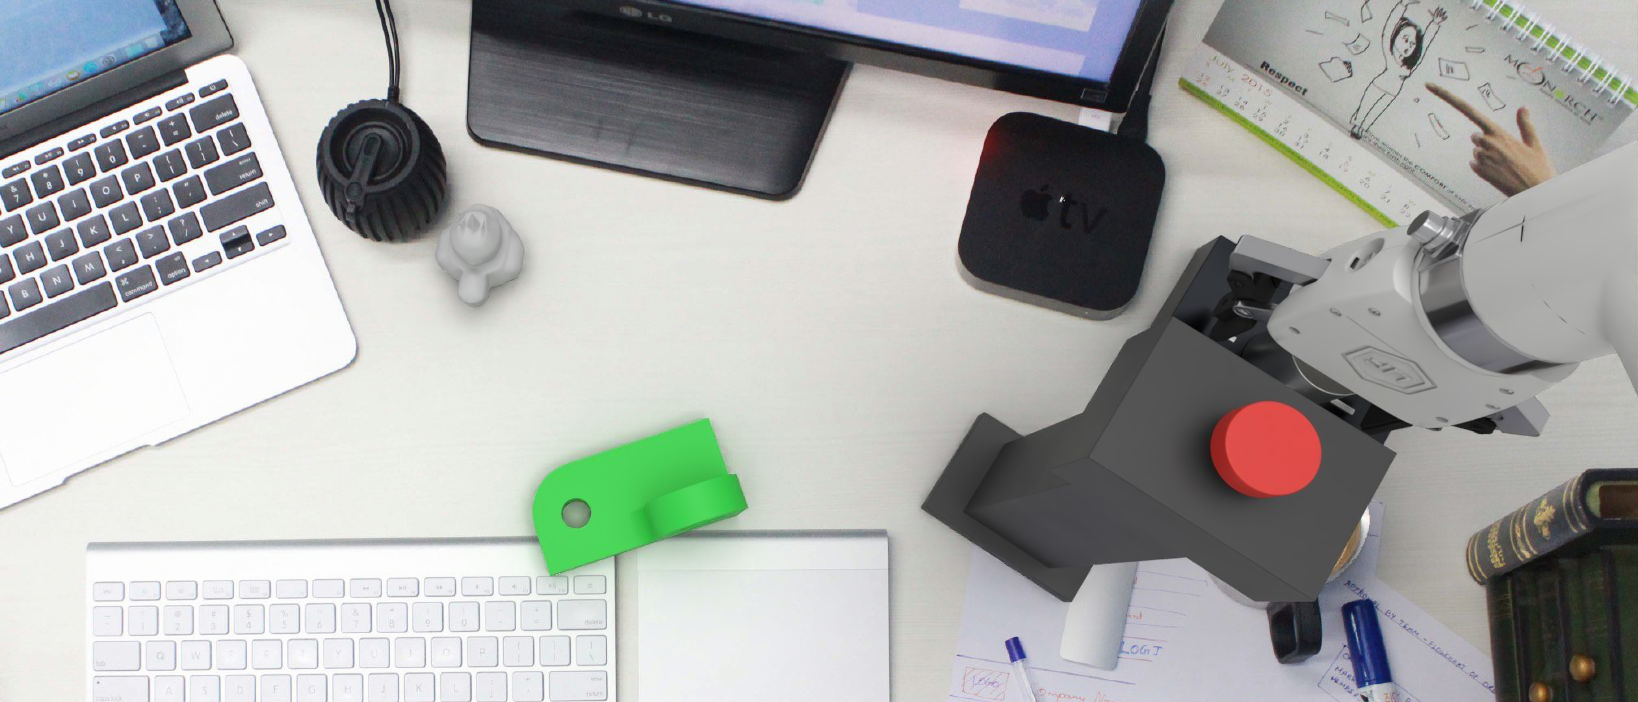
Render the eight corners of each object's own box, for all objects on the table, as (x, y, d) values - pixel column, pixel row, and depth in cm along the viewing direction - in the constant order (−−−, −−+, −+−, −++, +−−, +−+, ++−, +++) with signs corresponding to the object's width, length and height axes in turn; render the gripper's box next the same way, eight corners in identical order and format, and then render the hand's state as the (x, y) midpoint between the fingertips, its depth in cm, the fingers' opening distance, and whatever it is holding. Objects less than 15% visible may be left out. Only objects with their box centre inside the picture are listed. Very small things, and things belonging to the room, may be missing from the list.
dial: (1300, 427, 70) (1361, 412, 65) (1224, 380, 71) (1278, 361, 65) (1340, 359, 71) (1403, 338, 66) (1264, 313, 72) (1321, 288, 66)
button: (1320, 439, 46) (1339, 435, 45) (1276, 516, 46) (1294, 514, 45) (1237, 388, 47) (1253, 382, 46) (1193, 463, 46) (1208, 460, 45)
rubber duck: (533, 224, 77) (524, 181, 69) (517, 322, 76) (506, 290, 68) (450, 213, 77) (432, 169, 70) (433, 311, 76) (413, 277, 68)
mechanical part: (706, 422, 74) (717, 400, 66) (738, 514, 73) (753, 503, 65) (522, 482, 74) (511, 467, 66) (551, 576, 72) (544, 572, 65)
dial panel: (1398, 369, 74) (1433, 359, 71) (1316, 516, 72) (1347, 512, 69) (1197, 248, 76) (1222, 233, 73) (1112, 389, 74) (1134, 379, 71)
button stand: (1121, 505, 73) (1397, 453, 47) (1064, 602, 72) (1315, 602, 46) (978, 414, 74) (1173, 315, 49) (920, 508, 73) (1087, 457, 47)
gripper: (1301, 250, 53) (1135, 335, 70) (1667, 468, 51) (1405, 501, 68) (1377, 120, 54) (1197, 233, 71) (1739, 326, 52) (1464, 394, 69)
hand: (1299, 364), depth 69 cm, fingers open, 9 cm apart
